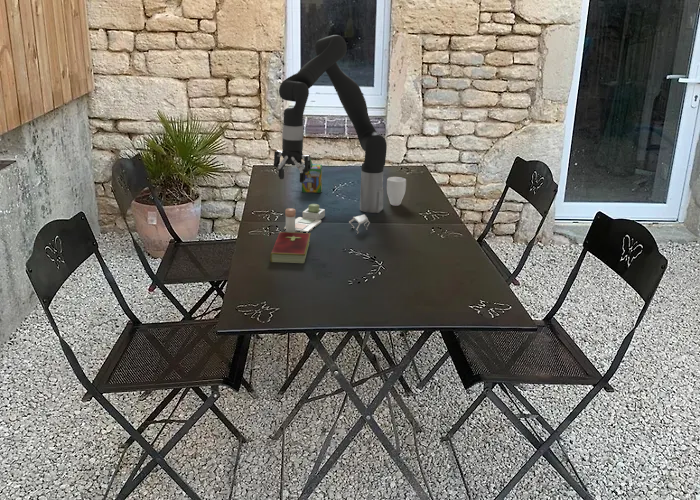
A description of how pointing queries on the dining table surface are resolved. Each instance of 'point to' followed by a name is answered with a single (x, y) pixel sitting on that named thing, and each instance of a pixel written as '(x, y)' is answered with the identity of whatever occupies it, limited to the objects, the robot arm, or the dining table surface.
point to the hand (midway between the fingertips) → (291, 180)
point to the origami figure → (360, 220)
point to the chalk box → (313, 179)
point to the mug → (396, 189)
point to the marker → (290, 220)
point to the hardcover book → (290, 247)
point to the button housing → (314, 214)
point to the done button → (314, 208)
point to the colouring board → (305, 224)
